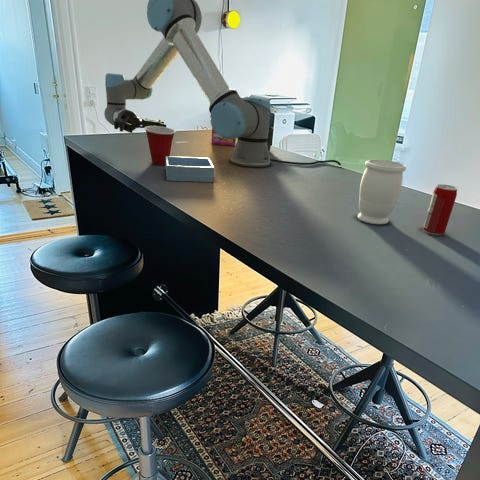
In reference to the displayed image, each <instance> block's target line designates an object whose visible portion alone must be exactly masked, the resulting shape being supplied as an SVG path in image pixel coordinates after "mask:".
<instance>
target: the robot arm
mask: <svg viewBox="0 0 480 480" xmlns="http://www.w3.org/2000/svg"><path fill="white" fill-rule="evenodd" d="M202 15H203V14H202V11H201V7H200V6H199V4H198V2H197V1H196V0H148V1H147V6H146V18H147V22H148V24H149V26H150V27H151V29H152V30H154V31H155V32H158V33H161V34H162V36H163V37H162V38H161V40H160V41H159V42H158V44H157V46H156V47H155V48H154V50H153V51H152V53H150V55H149V57H148V58H147V60H146V61H145V62H144V64H143V65H142V66H141V68H140V69H139V71H137V73H136V74H135V76H134V77H133V78H131V79H130V78H125V75H124V74H123V73H117V72H116V73H113V72H108V73H106V74H105V80H104V81H105V85H104V86H105V94H106V107H105V109H104V111H103V112H104V113H103V115H104V119H105V120H106V121H107V122H108V124H110V125H112V126H113V128H114V129H115V130H118V129H119V132H124V131H125V132H127V133H130V134H133V132H134V131H136V129H145V127H147V126H161V127H167V124H166V123H165V121H163V120H161V119H158V120H155V119H150V118H144V117H138V116H137V114H136V113H135V112H134V111H132V110H129V109H127V100H142V101H143V100H146V99H147V100H148V99H149V98H151V97H152V93H153V86H154V85H155V84H156V82H158V80H159V78H160V77H161V76H162V75H163V73H164V72H165V71H166V70H167V69H168V67H169V66H170V65H171V64H172V62H173V61H174V60H175V59H176V57H177V56H178V55H180V57H181V59H182V61H183V62H184V64H185V65H186V67H187V68H188V70H189V72H190V73H191V75H192V77H193V79H194V80H195V81H196V83H197V85H198V86H199V88H200V90H201V92H202V93H203V96H205V98H206V100H207V102H208V103H209V106H208V111H209V113H210V126H211V129H212V128H213V130H214V131H215V132H216V134H218V135H219V136H220V137H222V138H226V139H236V138H237V141H236V145H235V146H234V148H233V149H232V155H231V159H230V161H231V163H232V164H234V165H237V166H241V167H246V168H266V167H269V166H270V165H271V162H273V163H274V162H275V163H279V164H286V165H287V164H288V165H297V166H298V165H299V166H312V165H317V164H327V163H336V164H337V165H338V166H342V164H341V162H339V161H338V160H337V159H327V160H326V159H325V160H316V161H312V162H300V161H298V162H297V161H286V160H281V159H275V158H271V156H270V151H268V145H267V141H268V132H269V127H270V121H271V114H272V104H271V102H270V101H269V100H267V99H262V98H258V97H257V98H256V97H250V96H240V95H239V93H238V90H236V89H234V88H230V87H229V85H228V83H227V82H226V80H225V78H224V76H223V75H222V73H221V71H220V70H219V69H218V67H217V65H216V63H215V62H214V60H213V57H211V55H210V53H209V51H208V50H207V48H206V46H205V45H204V43H203V42H202V40H201V38H200V37H199V35H198V33H199V31H200V29H201V26H202V21H203V20H202V19H203V16H202Z"/></svg>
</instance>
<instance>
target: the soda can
mask: <svg viewBox="0 0 480 480" xmlns="http://www.w3.org/2000/svg"><path fill="white" fill-rule="evenodd" d="M457 196H458V187H457V186H454V185H451V184H443V183H441V184H440V183H439V184H436V186H435V187H434V190H433V192H432V196H431V198H430V202H429V205H428V209H427V212H426V216H425V219H424V223H423V226H422V229H423V232H424V233H426V234H429V235H433V236H442V235H443V234H445V233H446V230H447V227H448V224H449V220H450V218H451V216H452V215H451V214H452V211H453V208H454V205H455V202H456V198H457Z"/></svg>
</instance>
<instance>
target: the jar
mask: <svg viewBox="0 0 480 480" xmlns="http://www.w3.org/2000/svg"><path fill="white" fill-rule="evenodd" d="M364 165H365V169H364V172H363V174H362V176H361V180H360V185H359V197H358V208H359V211H360V212H359V213H358V214H357V218H358V220H359V221H362V222H363V223H366V224H370V225H385V224H388V223H389V221H390V219H389V216H390V214H391V213H392V212H393V210H394V208H395V206H396V203H397V201H398V199H399V196H400V194H401V191H402V185H403V178H404V176H403V173H404V172H405V171H406V170H407V165H406V164H403V163H401V162H397V161H393V160H388V159H367V160H365V162H364Z"/></svg>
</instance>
